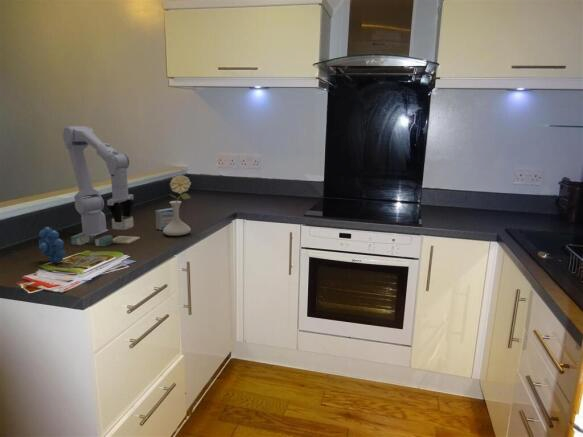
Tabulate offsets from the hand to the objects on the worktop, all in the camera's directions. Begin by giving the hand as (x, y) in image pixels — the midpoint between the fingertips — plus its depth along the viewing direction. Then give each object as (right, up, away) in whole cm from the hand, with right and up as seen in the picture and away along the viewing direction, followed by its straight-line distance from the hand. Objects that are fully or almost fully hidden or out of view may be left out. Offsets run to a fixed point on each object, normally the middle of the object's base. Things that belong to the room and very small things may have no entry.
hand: (122, 220), depth 167 cm
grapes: (-13, -14, -27) cm, 33 cm away
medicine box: (+11, -4, +22) cm, 25 cm away
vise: (-10, -9, -3) cm, 14 cm away
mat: (0, -8, +2) cm, 8 cm away
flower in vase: (+19, -6, +11) cm, 23 cm away
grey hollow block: (0, -3, +1) cm, 3 cm away
